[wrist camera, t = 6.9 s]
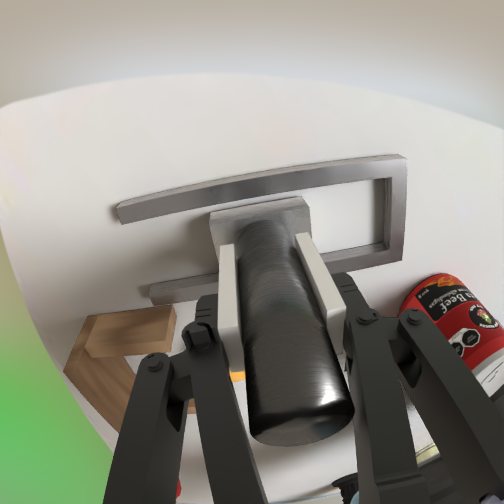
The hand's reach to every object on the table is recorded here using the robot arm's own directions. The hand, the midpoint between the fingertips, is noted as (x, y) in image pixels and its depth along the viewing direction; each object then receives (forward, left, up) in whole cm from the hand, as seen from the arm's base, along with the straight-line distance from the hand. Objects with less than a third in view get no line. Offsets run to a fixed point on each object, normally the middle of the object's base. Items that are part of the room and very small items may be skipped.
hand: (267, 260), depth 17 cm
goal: (+12, +10, -4) cm, 16 cm away
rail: (0, 0, -4) cm, 4 cm away
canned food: (-15, +11, -4) cm, 19 cm away
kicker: (0, +5, -4) cm, 6 cm away
